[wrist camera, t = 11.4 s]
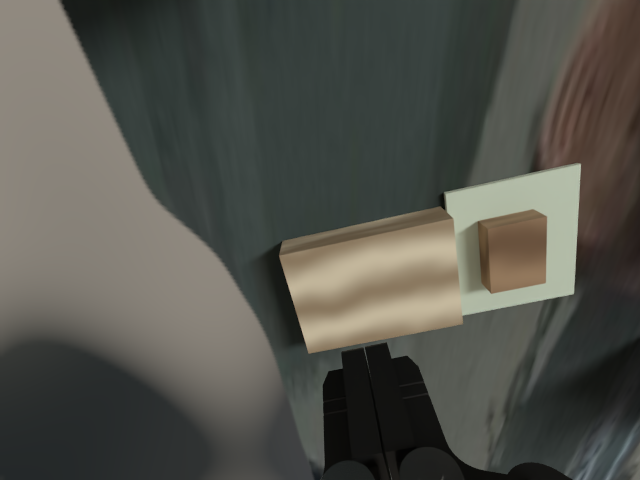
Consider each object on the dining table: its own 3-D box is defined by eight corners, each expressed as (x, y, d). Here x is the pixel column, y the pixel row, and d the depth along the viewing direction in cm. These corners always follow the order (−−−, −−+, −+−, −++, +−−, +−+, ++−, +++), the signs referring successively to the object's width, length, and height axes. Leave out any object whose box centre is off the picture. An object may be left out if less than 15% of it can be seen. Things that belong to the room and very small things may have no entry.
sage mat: (443, 192, 38) (445, 193, 37) (576, 162, 37) (580, 164, 36) (455, 313, 44) (457, 316, 43) (570, 291, 43) (573, 293, 42)
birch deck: (282, 241, 40) (279, 255, 36) (440, 206, 39) (453, 218, 35) (309, 332, 45) (308, 353, 41) (450, 304, 43) (462, 323, 40)
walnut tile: (547, 216, 36) (533, 209, 38) (487, 229, 36) (477, 221, 39) (546, 283, 39) (533, 272, 41) (491, 293, 39) (481, 282, 42)
